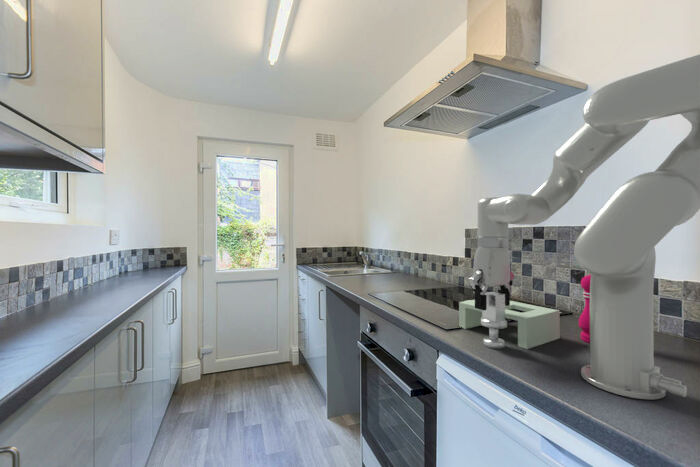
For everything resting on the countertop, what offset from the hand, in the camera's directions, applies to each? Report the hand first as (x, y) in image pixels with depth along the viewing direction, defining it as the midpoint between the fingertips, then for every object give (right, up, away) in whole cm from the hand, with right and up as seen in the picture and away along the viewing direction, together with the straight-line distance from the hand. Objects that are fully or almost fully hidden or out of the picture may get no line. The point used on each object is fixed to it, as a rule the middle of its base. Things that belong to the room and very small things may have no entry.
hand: (492, 306), depth 82 cm
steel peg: (0, -10, 0) cm, 10 cm away
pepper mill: (+30, -10, +2) cm, 31 cm away
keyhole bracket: (+9, -10, +10) cm, 17 cm away
